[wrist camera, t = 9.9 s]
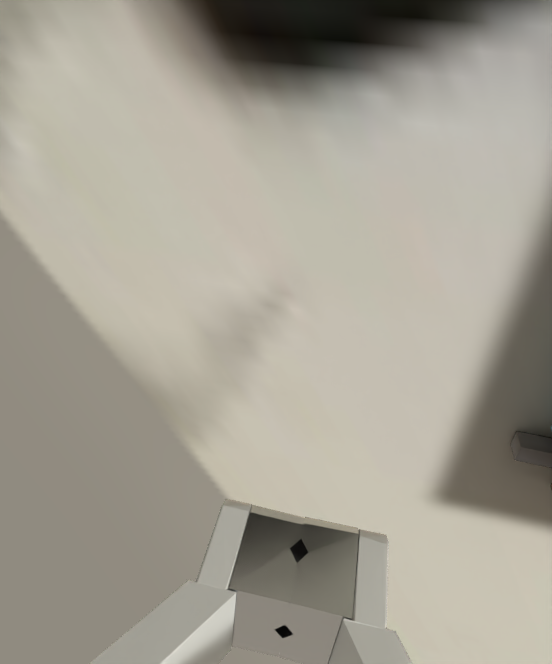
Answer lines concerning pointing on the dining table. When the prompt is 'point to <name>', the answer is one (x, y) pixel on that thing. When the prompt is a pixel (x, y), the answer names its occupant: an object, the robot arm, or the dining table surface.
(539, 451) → the low shelf
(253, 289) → the dining table surface
